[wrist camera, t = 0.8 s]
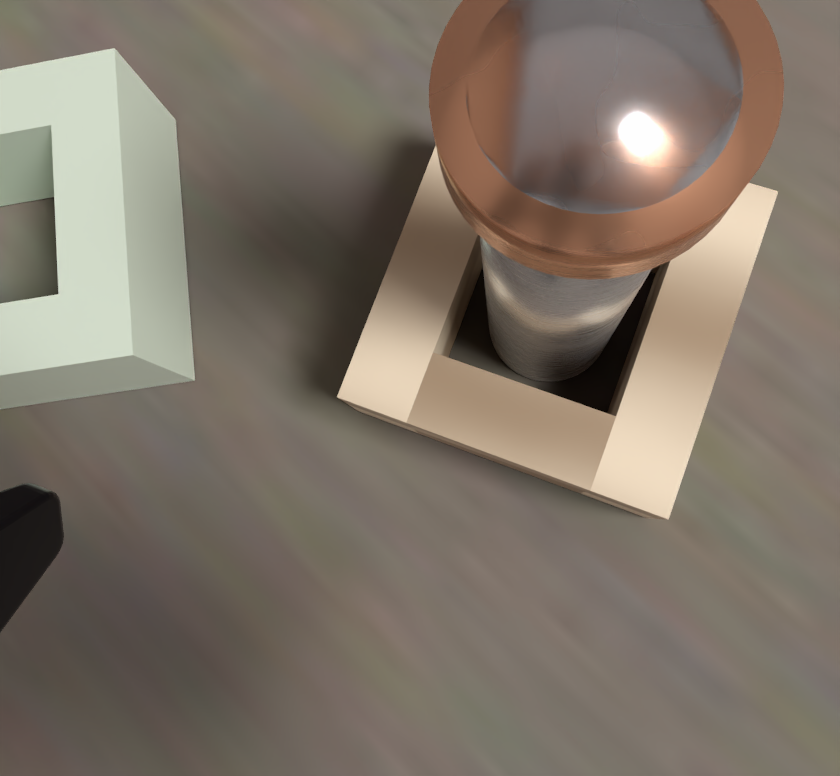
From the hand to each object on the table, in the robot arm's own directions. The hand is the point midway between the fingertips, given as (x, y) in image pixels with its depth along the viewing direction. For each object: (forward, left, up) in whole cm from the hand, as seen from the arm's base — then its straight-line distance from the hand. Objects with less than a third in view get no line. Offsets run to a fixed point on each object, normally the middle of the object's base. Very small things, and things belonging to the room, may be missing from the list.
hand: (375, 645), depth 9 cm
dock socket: (-6, +15, -13) cm, 21 cm away
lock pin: (+6, +4, -13) cm, 15 cm away
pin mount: (+6, +4, -13) cm, 15 cm away
